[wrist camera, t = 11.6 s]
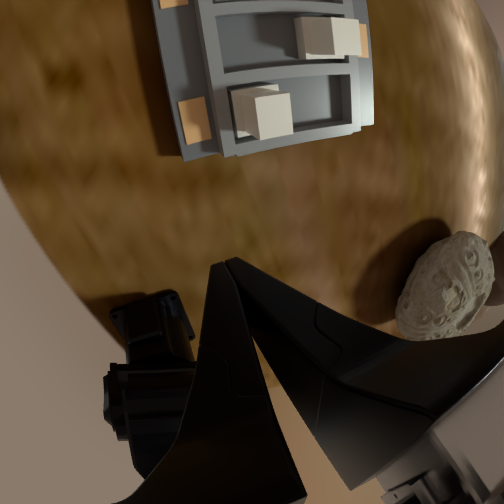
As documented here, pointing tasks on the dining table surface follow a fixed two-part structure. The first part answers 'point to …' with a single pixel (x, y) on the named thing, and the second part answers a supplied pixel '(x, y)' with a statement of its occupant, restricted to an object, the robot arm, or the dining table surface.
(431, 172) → the dining table surface
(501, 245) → the decorative dome
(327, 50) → the tab
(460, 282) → the grey rounded stone
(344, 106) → the switch bank
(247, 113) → the tab
